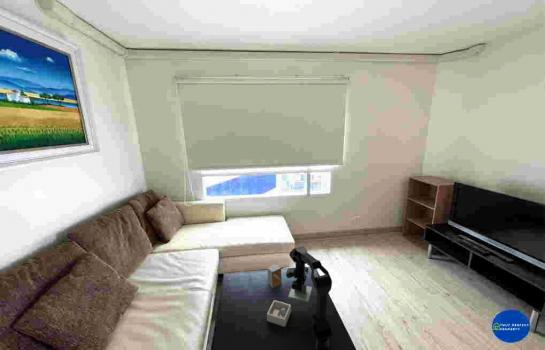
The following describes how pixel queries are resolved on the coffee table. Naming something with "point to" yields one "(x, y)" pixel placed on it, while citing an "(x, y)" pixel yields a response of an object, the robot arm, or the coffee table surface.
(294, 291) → the lid
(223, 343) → the coffee table surface
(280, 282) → the small box
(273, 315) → the storage box
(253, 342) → the coffee table surface
